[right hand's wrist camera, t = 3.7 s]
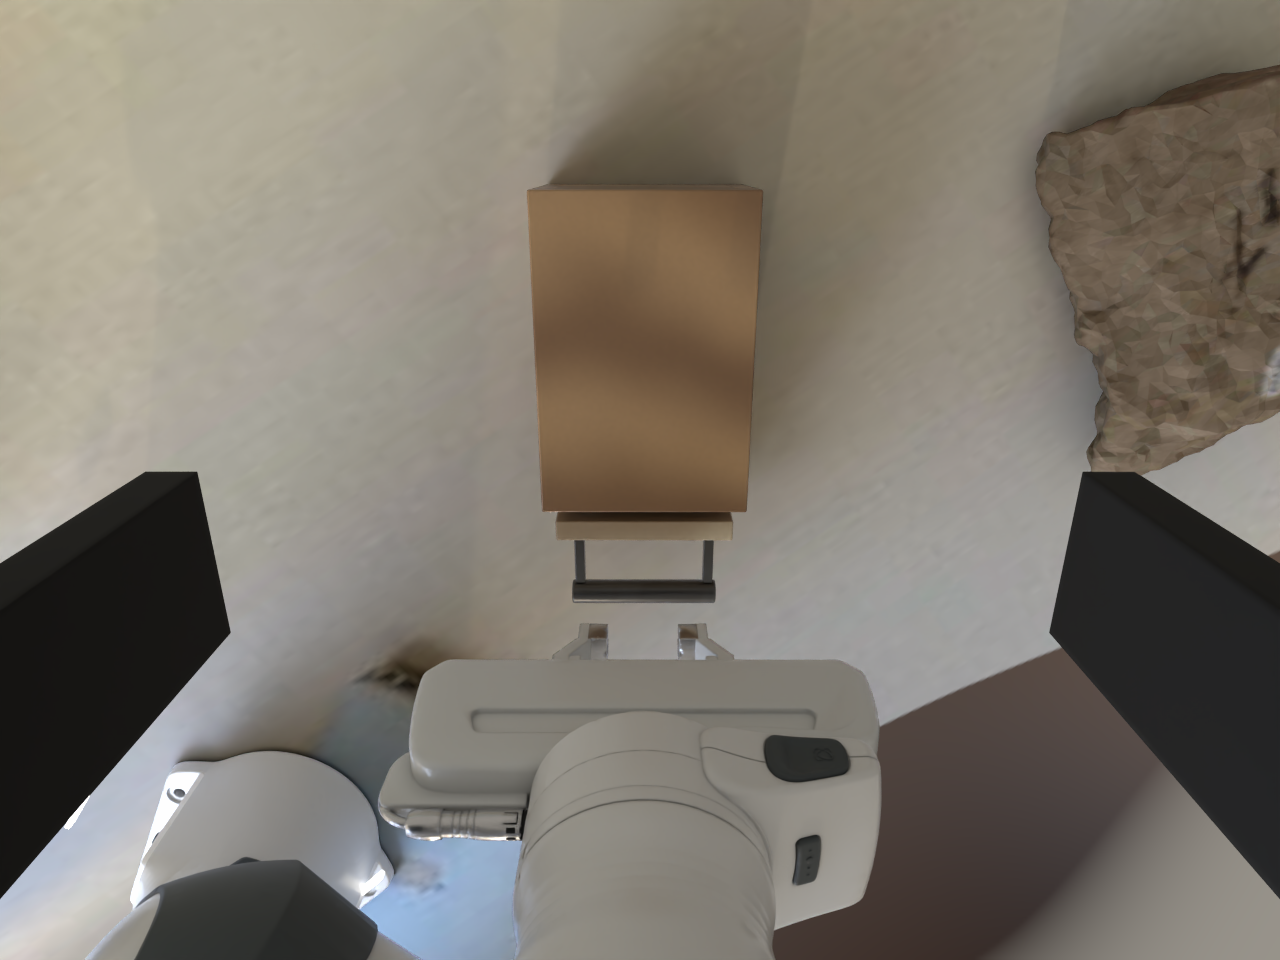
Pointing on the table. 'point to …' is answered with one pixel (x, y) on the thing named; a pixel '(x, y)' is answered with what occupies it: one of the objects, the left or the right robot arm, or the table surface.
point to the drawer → (643, 528)
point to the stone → (1173, 264)
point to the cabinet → (644, 344)
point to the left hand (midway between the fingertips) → (642, 634)
